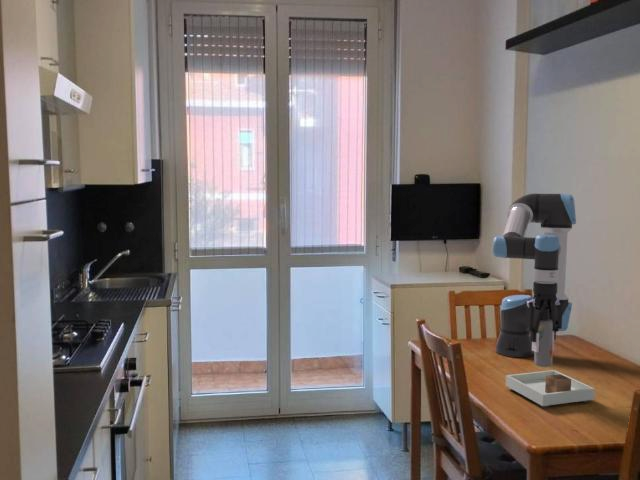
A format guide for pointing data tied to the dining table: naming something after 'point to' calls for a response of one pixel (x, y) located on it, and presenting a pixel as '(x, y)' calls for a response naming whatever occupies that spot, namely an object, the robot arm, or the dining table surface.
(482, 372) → the dining table surface
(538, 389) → the tray
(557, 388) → the walnut block
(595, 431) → the dining table surface
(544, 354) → the lotion bottle
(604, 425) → the dining table surface
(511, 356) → the robot arm
